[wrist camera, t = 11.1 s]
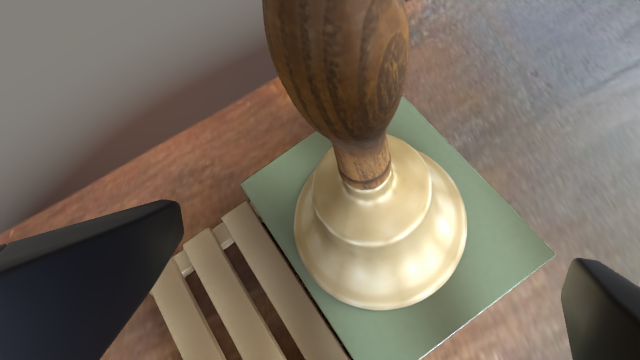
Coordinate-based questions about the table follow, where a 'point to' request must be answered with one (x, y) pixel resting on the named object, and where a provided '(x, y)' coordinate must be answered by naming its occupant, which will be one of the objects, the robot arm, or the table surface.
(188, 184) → the table surface
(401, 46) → the hand bell
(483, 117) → the table surface
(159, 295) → the rack
